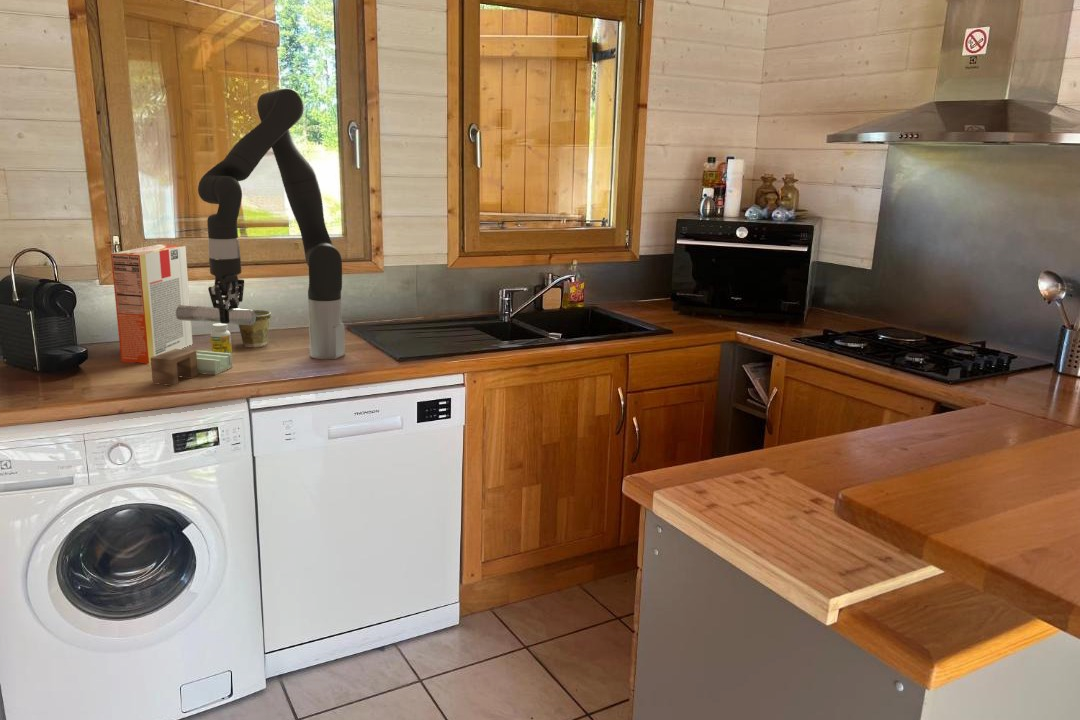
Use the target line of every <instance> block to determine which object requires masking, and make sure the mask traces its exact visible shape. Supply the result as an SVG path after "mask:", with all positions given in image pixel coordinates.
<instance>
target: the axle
mask: <svg viewBox="0 0 1080 720" xmlns="http://www.w3.org/2000/svg"><path fill="white" fill-rule="evenodd" d="M228 309H229V323H228V324H227V325H229V324H230V325H231V324H232V325H238V324H242V325H253V324H254V323H255V320H256V314H255V311H254V310H255V309H244V308H238V309H233V308H229V307H228ZM176 317H177V319H178V320H183V321H191V322H201V323H212V324H216V323H220V314H219V309H217V308H214V307H213V306H201V305H190V306H187V305H179V306H178V307H177V309H176Z"/></svg>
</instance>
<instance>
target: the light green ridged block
mask: <svg viewBox="0 0 1080 720" xmlns="http://www.w3.org/2000/svg"><path fill="white" fill-rule="evenodd" d="M196 355H197V369H198V374H202V373H205V375H212V374H214V375H213V376H217V375H218V373H219V374H220V372H221V373H223V372H225V371H227V370H226V369H228V370H230V369H232V368H233V359H232V356H233V355H232V356H231V353H221V352H212V351H211V350H209V351H208V350H196ZM231 367H232V368H231ZM229 368H230V369H229ZM224 370H225V371H224ZM222 371H223V372H222Z"/></svg>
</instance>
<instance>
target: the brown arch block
mask: <svg viewBox="0 0 1080 720" xmlns="http://www.w3.org/2000/svg"><path fill="white" fill-rule="evenodd" d="M196 353H197V350H192V349H174V350H171V351H168V352H165V353H163V354H160V355H157V356H154V357H151V363H150V369H151V377H152V378H151V379H152V384H154V383H159V384H158V385H164V384H167V386H177V385H178V384H179V377H178V376H182V377H181V378H187V377H190V378H189V379H193V378H195V377H197V376H199V373H198V369H197V355H196ZM194 376H195V377H194ZM192 377H193V378H192Z"/></svg>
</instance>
